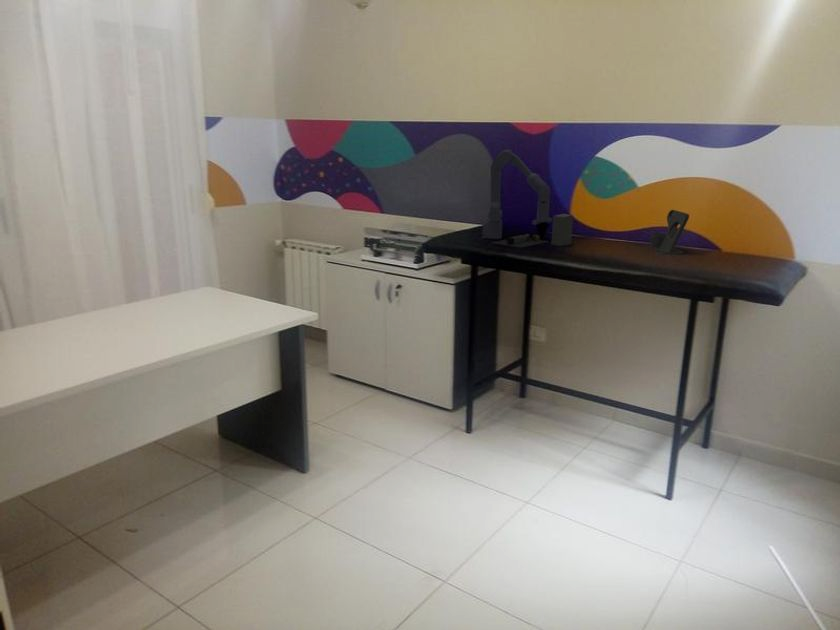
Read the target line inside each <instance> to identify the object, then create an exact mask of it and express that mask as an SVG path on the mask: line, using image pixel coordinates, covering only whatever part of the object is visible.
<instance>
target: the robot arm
mask: <svg viewBox="0 0 840 630" xmlns="http://www.w3.org/2000/svg"><path fill="white" fill-rule="evenodd" d="M509 163H510V165H512V166H515V167H516V168H517V169H518V170H519V171H520V172H521V173H522V174H523V175H524V176H525V177H526V183H528V184H529V186H530V187H531V188H532V189H533V190H534V191H535V192H537V195H538V200H537V209H536V219H533V220H532V223H531V224H532V225H534V226H535V228H536V231H537V235H539V236H540V239H543V238H545V235H546V233H547V229H548V228H549V226H550V223H553V217H549V216H550V215H549V213H550V203H551V202H550V198H551V197H550V196H551V188H550V187H549V185H548V184H547V182H544V180H543V179H542V178H541V175H540V173H538V174H537V173H536V172H534V173H533V172H532V171H531V170H530V169H529V168H528V166H526V164H525V163H524V162H523V161H522V160H521V158H520V157H518V156H517V155H516V154H515V153H514V152H513V151H512V150H511V149H503V150H502V151H501V152H499V153H498V154H497V155H496V156H495V158H494V160H493V162H492V163H491V165H490V204H489V212H488V214H487V216H488V219H487V220H485V221H484V222H483V224H482V237H481V239H490V240H492V239H493V240H498V239H499V240H500V239H502V238H503V237H502V236H503V235H502V234H503V220H502V216H503V209H502V206H501V205H502V204H501V170H502V169H503V168H504V167H505V165H507V164H509Z"/></svg>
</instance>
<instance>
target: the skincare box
mask: <svg viewBox="0 0 840 630" xmlns="http://www.w3.org/2000/svg"><path fill="white" fill-rule="evenodd" d="M573 223H574V215H573V214H567V213H561V214H557V215H556V214H555V215H553V217H552V227H551V228H552V231H551V245H553V246H558V247H563V246H568V245H572V237H573V234H572V233H573Z"/></svg>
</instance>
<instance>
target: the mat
mask: <svg viewBox="0 0 840 630" xmlns="http://www.w3.org/2000/svg"><path fill="white" fill-rule="evenodd" d="M548 242H550V241H549V240H542V239H539V240H537V241H535V240H532V238H530V241H525V242H521V243H516V244H512V245H510V244H509V245H508V244H506V243H507V238H505V239H502V240H497V241H491V242H490V244H496V245H502V246H510V247H514V248H521V249H522V248H525V247H531V246H535V245H539V244H543V243H548Z"/></svg>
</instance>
